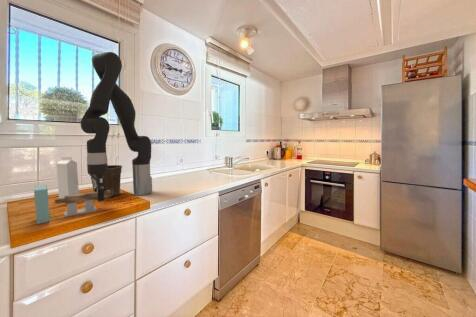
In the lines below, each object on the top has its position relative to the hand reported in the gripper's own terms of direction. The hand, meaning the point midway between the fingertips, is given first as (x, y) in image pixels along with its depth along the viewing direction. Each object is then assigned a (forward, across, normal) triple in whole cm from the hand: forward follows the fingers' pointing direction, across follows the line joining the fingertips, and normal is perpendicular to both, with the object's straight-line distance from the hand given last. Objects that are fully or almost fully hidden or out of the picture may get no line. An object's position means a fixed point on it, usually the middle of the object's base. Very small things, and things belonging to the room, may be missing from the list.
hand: (99, 199), depth 93 cm
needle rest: (+5, 0, +7) cm, 8 cm away
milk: (+5, +32, +9) cm, 34 cm away
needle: (0, 0, +5) cm, 5 cm away
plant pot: (+5, +24, -7) cm, 25 cm away
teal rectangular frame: (+5, 0, +19) cm, 19 cm away
